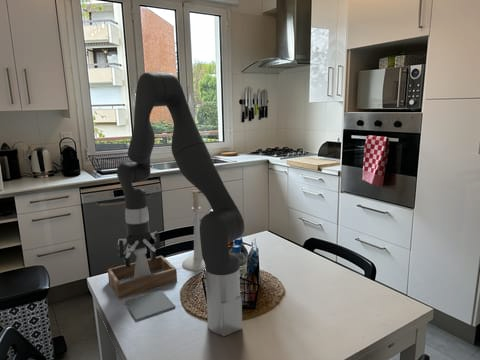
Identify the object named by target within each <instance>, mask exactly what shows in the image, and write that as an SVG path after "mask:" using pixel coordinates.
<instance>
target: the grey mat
mask: <svg viewBox="0 0 480 360" xmlns="http://www.w3.org/2000/svg"><path fill="white" fill-rule="evenodd" d="M124 304H125V305H126V307H127V309H128V310H129V312H130V313H131V315H132V317H133V318H134V320H135V322H139V321H141V320H143V319H148V318H149V317H153V316H156V315H159V314H161V313H164V312H167V311H170V310H174V309H176V305H175V304H174V303H173V302H172V301H171V300H170V298H169V297H168V296H167V294H165V292H164V291H163V290H162V289H160V290H156V291H153V292H150V293H146V294H144V295H139V296H137V297H133V298H130V299H127V300H124Z"/></svg>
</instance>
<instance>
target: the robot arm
mask: <svg viewBox="0 0 480 360" xmlns="http://www.w3.org/2000/svg"><path fill="white" fill-rule="evenodd" d="M135 91H136V92H135V103H134V117H133V129H132V134H131V138H130V142H129V145H128V150H127V157H128V159H129V160H131V161H123V162H121V163H119V165H118V166H117V168H116V176H117V179H118V181H119V182H118V183H119V184H120V187H121V189H122V192H123V195H124V205H125V211H124V213H125V214H124V215H125V226H126V238H118V239H117V255H118V257H120V258H121V259H122V258H123V262H124V265H126V267H128V268H129V267H130V263H131V261H130V256H131V254H132V253H134V249H139V248H144V247H148V248H149V249H150V250H149V256H150V258H149V259H151V261H152V262H153V261H154V260H155V259H156V257H157V256H156V255H157V254H156V251H157V250H159V249H161V240H160V239H161V237H160V233H159V232H157V230H155V231H153V232H150V231H151V230H150V218H149V217H150V215H149V209H148V202H147V201H148V200H147V199H148V198H147V192H146V190H145V189H143V188H139V187H137V188H136V187H134V186H133V184H135V183H140V182H145V181H147V180H148V179H149V178H150V176H151V155H152V152H153V149H154V146H155V141H156V137H155V131H154V129H153V126H152V124H151V119H150V117H151V114H152V112H153V109H154V107H155V108H156V107H167V108H166V109H168V111H169V113H170V116H171V118H172V123H173V129H172V130H173V131H172V138H171V148H170V149H171V154H172V156H173V158H174V160H175V163H176V165H177V167H178V169H179V171H180V173H181V174H182V176H183V177H184V178H185V179H186V180H187V181H188V182H189V183H190V184H192V186H194V187H195V188H196V190H197V189H198V191H199V192H200V193H202V194H203V196H204V197H205V198H206V200H207V202H208V204H209V205H210V207H211V210H212V212H209V213H207V214H205V215H203V217H202V218H201V219H200V241H201V251H202V257H203V260H204V263H205V269H206V270H205V285H206V286H205V288H206V313H207V314H206V315H207V327H208V330H209V331H210V332H212V333H214V334H217V335H220V336H222V337H226V336H228V335H229V336H230V335H231V334H233V333H235V332H238V331H241V330H242V329H243V304H242V303H243V301H242V296H241V287H240V286H241V282H240V281H241V278H240V277H241V276H240V266H241V265H240V258H239V256H238V255H237V254H236V253H233V252H230V249H229V248H230V247H229V243H231V242H234V241H236V240H238V239H239V238H241V237H242V236H243V234H244V232H245V222H244V218H243V216H242V213H241V212H240V210H239V208H238V206H237V204H236V203H235V201H234V199H233V198H232V197H231V194H230V193H229V191H228V189H227V188H226V186H225V184H224V182H223V180H222V177H221V175H220V174H219V172H218V169H217V168H216V166H215V164H214V162H213V159H212V157H211V154H210V152H209V150H208V148H207V146H206V143H205V141H204V139H203V137H202V135H201V133H200V132H199V129H198V126H197V124H196V122H195V120H194V117H193V114H192V113H191V109H190V106H189V104H188V101H187V98H186V96H185V92H184V89H183V87H182V84H181V81H180V80H179V79H178V77H177V75H175V74H174V73H171V72H166V71H163V72H160V71H159V72H157V71H155V72H154V71H147V72H143V73H142V74H141V75H140V76H139V79H138V80H137V84H136V90H135ZM151 238H152V239H153V240H154V245H153V244H151V243H150V240H151ZM126 243H127V246H126V249H125V250H124V246H125V245H126Z"/></svg>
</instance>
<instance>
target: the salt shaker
mask: <svg viewBox="0 0 480 360" xmlns="http://www.w3.org/2000/svg"><path fill="white" fill-rule="evenodd" d="M133 253H134V256H136V257H135V258H136V259H135V262H136V263H135V271H134V277H133V279H137V278H140V277H144V276H148V275H151V274H152V272H150V269H149V265H148V262H147V259H148V258H147V255H146V254H147V253H148V250H147V246H145V247H144V248H139V249H134V250H133Z"/></svg>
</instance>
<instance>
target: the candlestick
mask: <svg viewBox="0 0 480 360" xmlns="http://www.w3.org/2000/svg"><path fill="white" fill-rule="evenodd" d="M192 201H193V202H192V207H191V209H192V213H193V214H194V216H193V255H190V256H189V257H187V258H185V259H184V260H183V261H182V268H183V269H185V270H186V271H190V272H202V271H204V270H203V269H204V266H205V263H204V260H203V257H202V251H201V241H200V223H201V219H200V215H199V214H200V212H201V208H202V207H201V206H199V202H200V201H199V189H198V190H197V189H195V190H192Z"/></svg>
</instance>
